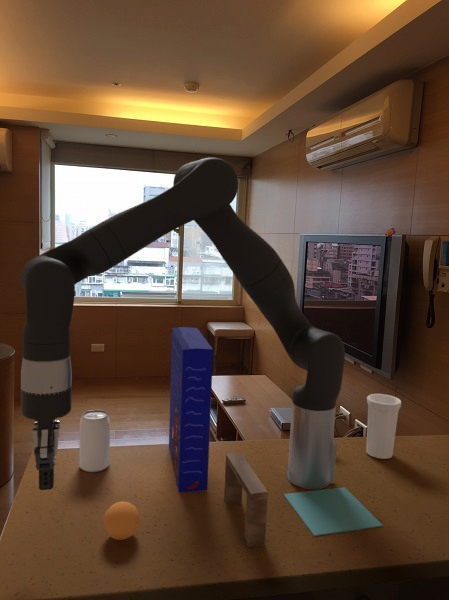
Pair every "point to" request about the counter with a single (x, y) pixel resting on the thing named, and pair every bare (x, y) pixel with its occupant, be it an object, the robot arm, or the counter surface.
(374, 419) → the cup
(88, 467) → the can
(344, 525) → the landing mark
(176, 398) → the cereal box
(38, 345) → the robot arm
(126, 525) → the ball
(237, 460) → the bridge
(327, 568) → the counter surface
